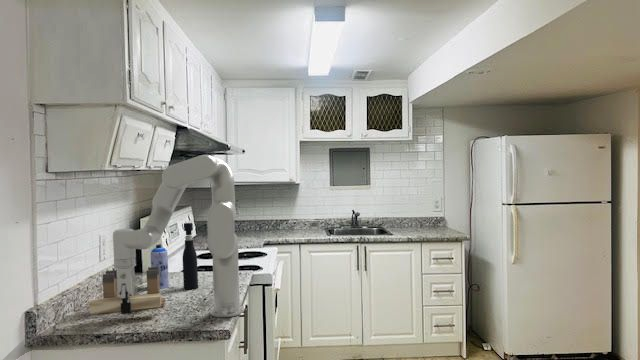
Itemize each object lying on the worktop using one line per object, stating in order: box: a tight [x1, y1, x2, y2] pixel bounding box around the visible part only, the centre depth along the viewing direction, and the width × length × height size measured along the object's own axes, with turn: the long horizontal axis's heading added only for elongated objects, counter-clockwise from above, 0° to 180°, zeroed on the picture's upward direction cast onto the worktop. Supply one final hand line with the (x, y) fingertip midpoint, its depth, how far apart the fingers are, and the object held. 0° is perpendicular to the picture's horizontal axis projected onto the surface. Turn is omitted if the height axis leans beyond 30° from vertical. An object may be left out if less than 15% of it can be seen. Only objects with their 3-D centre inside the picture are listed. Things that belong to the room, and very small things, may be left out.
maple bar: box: [88, 292, 162, 315], centre depth 166 cm, size 4×24×4 cm, turn 105°
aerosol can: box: [150, 243, 170, 290], centre depth 211 cm, size 8×8×20 cm
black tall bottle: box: [182, 222, 199, 291], centre depth 207 cm, size 6×6×30 cm
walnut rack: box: [97, 266, 166, 315], centre depth 180 cm, size 8×24×15 cm, turn 105°
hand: (127, 311), depth 167 cm, fingers closed on maple bar, 4 cm apart
